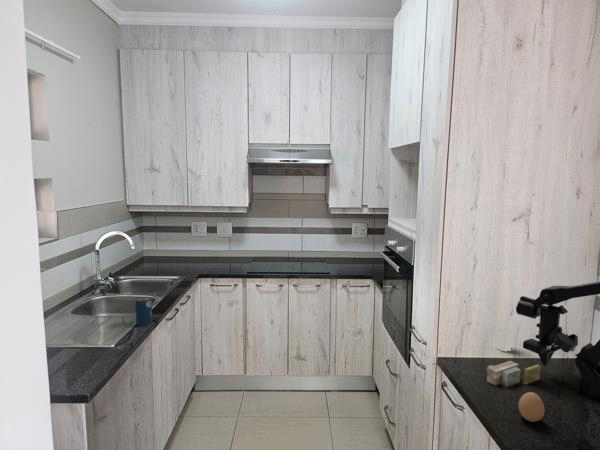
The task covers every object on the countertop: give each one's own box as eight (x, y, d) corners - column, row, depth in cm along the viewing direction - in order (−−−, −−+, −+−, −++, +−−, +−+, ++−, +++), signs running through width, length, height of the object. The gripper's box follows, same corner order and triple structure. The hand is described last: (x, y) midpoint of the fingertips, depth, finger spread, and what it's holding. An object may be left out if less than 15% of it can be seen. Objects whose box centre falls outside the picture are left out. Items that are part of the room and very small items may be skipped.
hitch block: (517, 377, 141) (518, 364, 140) (494, 385, 135) (495, 371, 135) (509, 373, 144) (510, 360, 143) (486, 381, 138) (488, 367, 137)
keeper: (539, 379, 140) (540, 365, 139) (526, 384, 136) (528, 370, 136) (536, 377, 141) (537, 364, 140) (523, 382, 137) (524, 368, 137)
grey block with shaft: (519, 382, 138) (520, 369, 137) (506, 387, 134) (507, 374, 134) (495, 370, 145) (496, 358, 145) (482, 375, 142) (483, 362, 142)
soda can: (155, 324, 184) (154, 298, 183) (141, 328, 179) (140, 302, 177) (147, 320, 188) (146, 295, 187) (133, 324, 183) (132, 298, 182)
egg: (520, 424, 114) (523, 397, 113) (515, 411, 120) (517, 385, 119) (546, 428, 112) (549, 401, 111) (539, 415, 119) (541, 389, 118)
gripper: (557, 335, 128) (552, 382, 130) (590, 326, 137) (585, 370, 139) (523, 324, 138) (519, 367, 140) (556, 315, 146) (552, 356, 148)
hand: (545, 365), depth 141 cm, fingers closed
